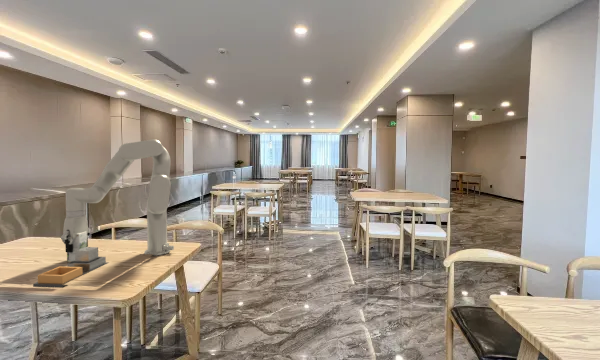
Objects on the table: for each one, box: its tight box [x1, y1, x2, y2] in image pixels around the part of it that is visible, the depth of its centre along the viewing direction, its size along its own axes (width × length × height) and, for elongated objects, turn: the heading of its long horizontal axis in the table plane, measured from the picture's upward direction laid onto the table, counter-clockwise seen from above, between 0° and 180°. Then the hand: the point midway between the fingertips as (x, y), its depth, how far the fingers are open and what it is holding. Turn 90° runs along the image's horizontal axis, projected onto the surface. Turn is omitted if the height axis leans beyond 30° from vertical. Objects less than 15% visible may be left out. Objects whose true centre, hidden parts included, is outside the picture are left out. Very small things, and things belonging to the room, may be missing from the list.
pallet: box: [32, 256, 110, 288], centre depth 128 cm, size 26×12×4 cm, turn 177°
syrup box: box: [66, 232, 87, 263], centre depth 144 cm, size 6×6×14 cm
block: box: [75, 246, 99, 263], centre depth 135 cm, size 6×6×8 cm
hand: (77, 249), depth 144 cm, fingers open, 8 cm apart
